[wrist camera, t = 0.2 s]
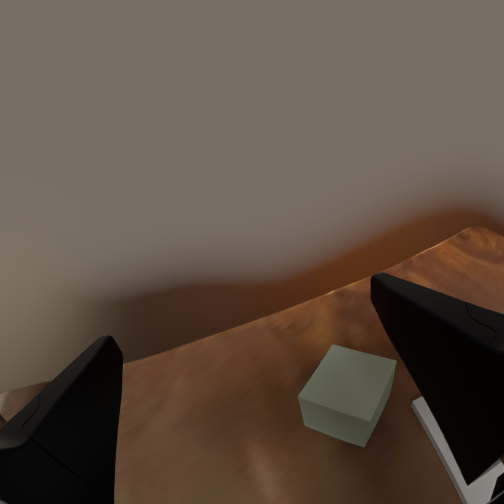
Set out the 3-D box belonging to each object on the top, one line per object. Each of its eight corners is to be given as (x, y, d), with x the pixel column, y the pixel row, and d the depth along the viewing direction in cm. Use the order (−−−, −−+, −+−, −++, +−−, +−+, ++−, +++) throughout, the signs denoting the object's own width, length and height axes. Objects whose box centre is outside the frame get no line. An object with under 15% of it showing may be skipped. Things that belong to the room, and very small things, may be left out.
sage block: (389, 395, 21) (396, 360, 19) (364, 448, 18) (369, 421, 15) (334, 379, 25) (332, 344, 22) (304, 426, 21) (297, 396, 19)
